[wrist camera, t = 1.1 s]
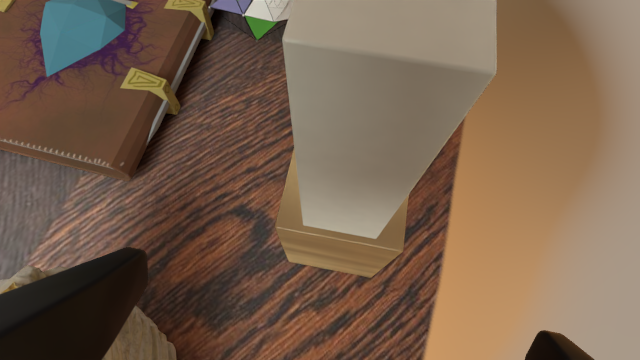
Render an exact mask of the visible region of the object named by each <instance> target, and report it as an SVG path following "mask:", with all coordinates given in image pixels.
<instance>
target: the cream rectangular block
mask: <svg viewBox="0 0 640 360" xmlns="http://www.w3.org/2000/svg"><path fill="white" fill-rule="evenodd" d="M496 34H497V33H496V0H294V1H293V5H292V8H291V11H290V15H289V18H288V21H287V25H286V28H285V31H284V35H283V38H282V41H283V50H284V59H285V68H286V77H287V86H288V95H289V104H290V113H291V122H292V131H293V140H294V149H295V158H296V167H297V176H298V185H299V194H300V203H301V212H302V221H303V225H304V226H310V227H315V228H320V229H326V230H331V231H336V232H341V233H347V234H352V235H357V236H362V237H368V238H373V239H376V238H377V237H378V236H379V234H380V233H381V232H382V230H383V229H384V227H385V226H386V225H387V223H388V222H389V221H390V219H391V218H392V216H393V215H394V214H395V212H396V211H397V210H398V208H399V207H400V206H401V204H402V203H403V201H404V200H405V199H406V197H407V196H408V195H409V193H410V192H411V190H412V189H413V188H414V186H415V185H416V184H417V182H418V181H419V179H420V178H421V177H422V175H423V174H424V173H425V171H426V170H427V168H428V167H429V166H430V164H431V163H432V162H433V160H434V159H435V157H436V156H437V155H438V153H439V152H440V151H441V149H442V148H443V146H444V145H445V144H446V142H447V141H448V140H449V138H450V137H451V135H452V134H453V133H454V131H455V130H456V129H457V127H458V126H459V124H460V123H461V122H462V120H463V119H464V118H465V116H466V115H467V113H468V112H469V111H470V109H471V108H472V107H473V105H474V104H475V102H476V101H477V99H478V98H479V97H480V96H481V94H482V93H483V91H484V90H485V89H486V87H487V86H488V85H489V83H490V82H491V80H492V79H493V77H494V76H495V75H496V71H497V70H496V69H497V62H496V59H497V48H496V47H497V45H496V43H497V41H496V40H497V35H496Z"/></svg>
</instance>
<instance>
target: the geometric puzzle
mask: <svg viewBox="0 0 640 360" xmlns="http://www.w3.org/2000/svg"><path fill="white" fill-rule="evenodd" d="M293 1H294V0H217V1H216V2H215V3H214V4H213V5H211V6H210V4H209V7H208V8H209V9H210V8H211V9H212V8H214V9H218V10H222V11H226V12H230V13H235V14H239V15H242V16H244V18H245V17H246V18H245V20H246V19H247V20H246V22H247V21H248V22H247V24H248V23H249V24H248V26H249V28H250V30H251V31H252V33H253V35H254V37H255V39H256V42H257V41H258V39H261V37H262V36H263V35H264V34H265V33H266V32H267V31H269V30H270V29H271V28H272V27H273V26H274V25H275V24H276V23H277V22H279V21H282V20H287V19H288V18H289V15H290V11H291V8H292V5H293ZM210 3H211V0H210ZM212 10H213V9H212ZM214 11H215V10H214ZM215 12H216V11H215ZM218 14H219V13H218ZM221 16H222V15H221ZM222 17H223V16H222ZM225 19H226V18H225ZM228 21H229V20H228ZM229 22H230V21H229ZM232 24H233V23H232ZM286 24H287V23H286ZM284 25H285V24H284ZM235 26H236V25H235ZM236 27H237V26H236ZM281 27H282V26H281ZM279 28H280V27H279ZM239 29H240V28H239ZM242 31H243V30H242ZM274 31H275V30H274ZM272 32H273V31H272ZM245 33H246V32H245ZM246 34H247V33H246ZM269 34H270V33H269ZM267 35H268V34H267ZM249 36H250V35H249ZM265 36H266V35H265ZM252 38H253V37H252ZM262 38H263V37H262ZM253 39H254V38H253Z"/></svg>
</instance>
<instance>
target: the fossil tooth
mask: <svg viewBox="0 0 640 360" xmlns="http://www.w3.org/2000/svg"><path fill="white" fill-rule="evenodd" d="M67 269H69V268H65V267H59V266H58V267H55V268H52V269H49V270H46V271H44V272H42V271H41V270H40V269H39V268H36V267H33V266H29V265H26V266H25V267H24V268H22V269H21V270H20V271H19V272H18V273H16V274H15V275H14V276H13V277H12V278H10V279H5V280H0V294H2V293H5V292H7V291H10V290H13V289H15V288H18V287H21V286H23V285H26V284H29V283H32V282H34V281H37V280H40V279H42V278H45V277H48V276H50V275H53V274H56V273H58V272H61V271H64V270H67ZM102 360H177V359H176V349H175V347H174V345H173V343H171V342H168V341H167V338H166V335H165V334H163V333H162V332H160V331H159V330H158V328H157V325H156V324H155V323H154V322H153V321H152V320H151V319H150V318H149V317H146V316H145V315H144V313H143V312H142V310H140V309H139V308H138V307H137V306H135V307H134V309H133V311H132V312H131V314H130V316H129V317H128V319H127V321H126V322H125V324H124V326H123V328H122V329H121V331H120V333H119V334H118V336H117V338H116V339H115V341H114V343H113V344H112V346H111V347H110V349H109V350H108V352H107V353H106V355H105V356H104V357H103V359H102Z"/></svg>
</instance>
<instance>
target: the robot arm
mask: <svg viewBox="0 0 640 360" xmlns="http://www.w3.org/2000/svg"><path fill="white" fill-rule="evenodd" d="M147 283H148V267H147V255H146V252H145V251H144V250H141V249H136V248H131V247H126V248H123V249H120V250H118V251H115V252H112V253H110V254H107V255H104V256H102V257H99V258H96V259H93V260H91V261H88V262H85V263H83V264H80V265H77V266H75V267H72V268H69V269H67V270H64V271H61V272H58V273H56V274H53V275H50V276H48V277H45V278H42V279H40V280H37V281H34V282H32V283H29V284H26V285H23V286H21V287H18V288H15V289H13V290H10V291H7V292H5V293H2V294H0V360H102V359H103V357H104V356H105V355H106V353H107V352H108V350H109V349H110V347H111V346H112V344H113V343H114V341H115V339H116V338H117V336H118V334H119V333H120V331H121V329H122V328H123V326H124V324H125V322H126V321H127V319H128V317H129V316H130V314H131V312H132V311H133V309H134V307H135V305H136V304H137V302H138V300H139V299H140V297H141V295H142V294H143V292H144V290H145V288H146V286H147ZM525 360H594V359H593V358H592V357H591V356H589V355H588V354H587V353H585V352H584V351H583V350H582V349H580V348H579V347H578V346H577V345H575V344H574V343H573V342H572V341H570V340H569V339H568V338H566V337H565V336H564V335H562V334H560V333H555V332H550V331H545V330H544V331H540V332H539V333H538V334H537V336H536V337H535V339H534V341H533V343H532V345H531V347H530V349H529V351H528V353H527V354H526V357H525Z"/></svg>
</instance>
